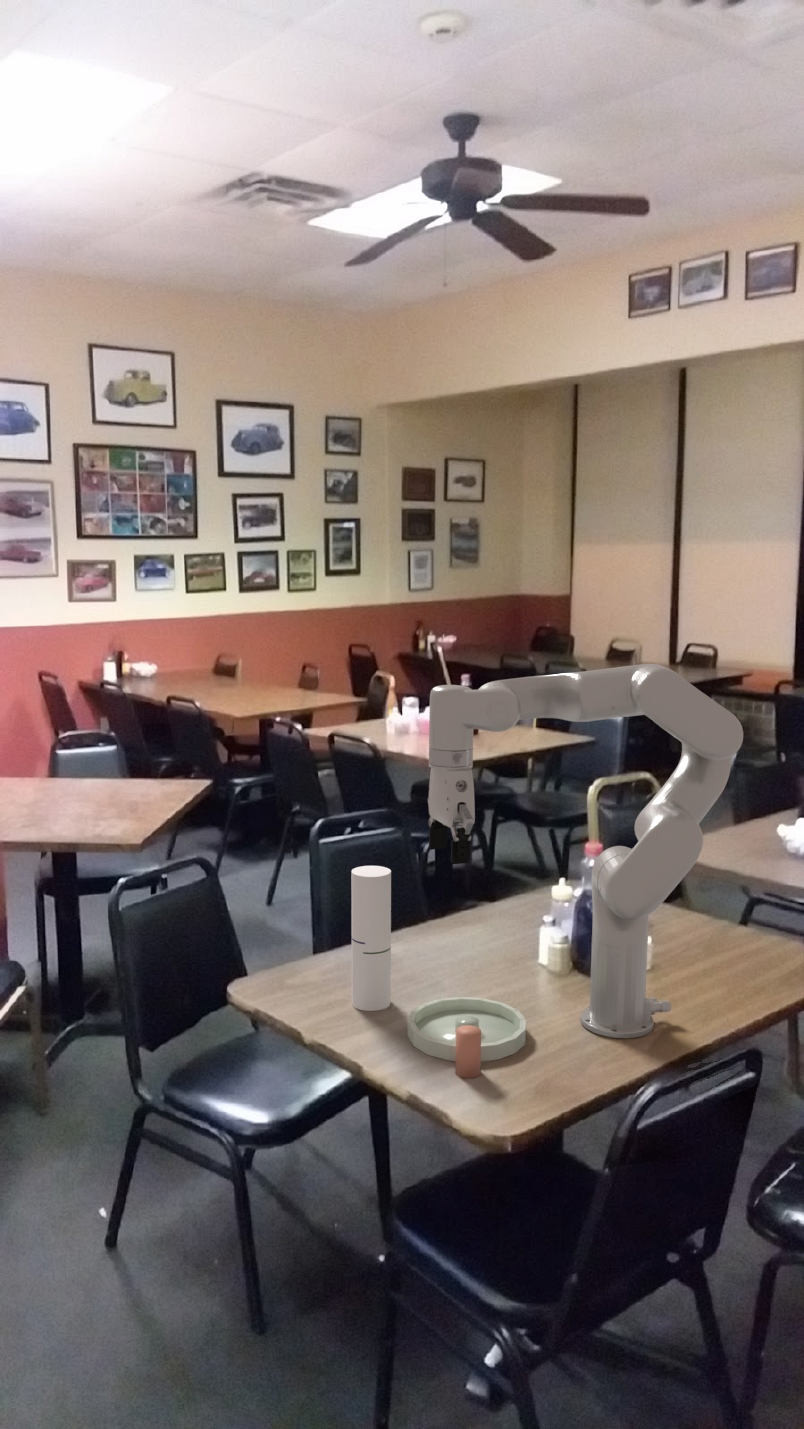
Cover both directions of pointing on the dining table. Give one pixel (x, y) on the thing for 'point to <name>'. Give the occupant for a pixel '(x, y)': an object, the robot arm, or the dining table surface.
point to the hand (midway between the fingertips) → (448, 855)
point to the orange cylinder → (468, 1051)
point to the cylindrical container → (371, 937)
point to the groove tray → (442, 1017)
